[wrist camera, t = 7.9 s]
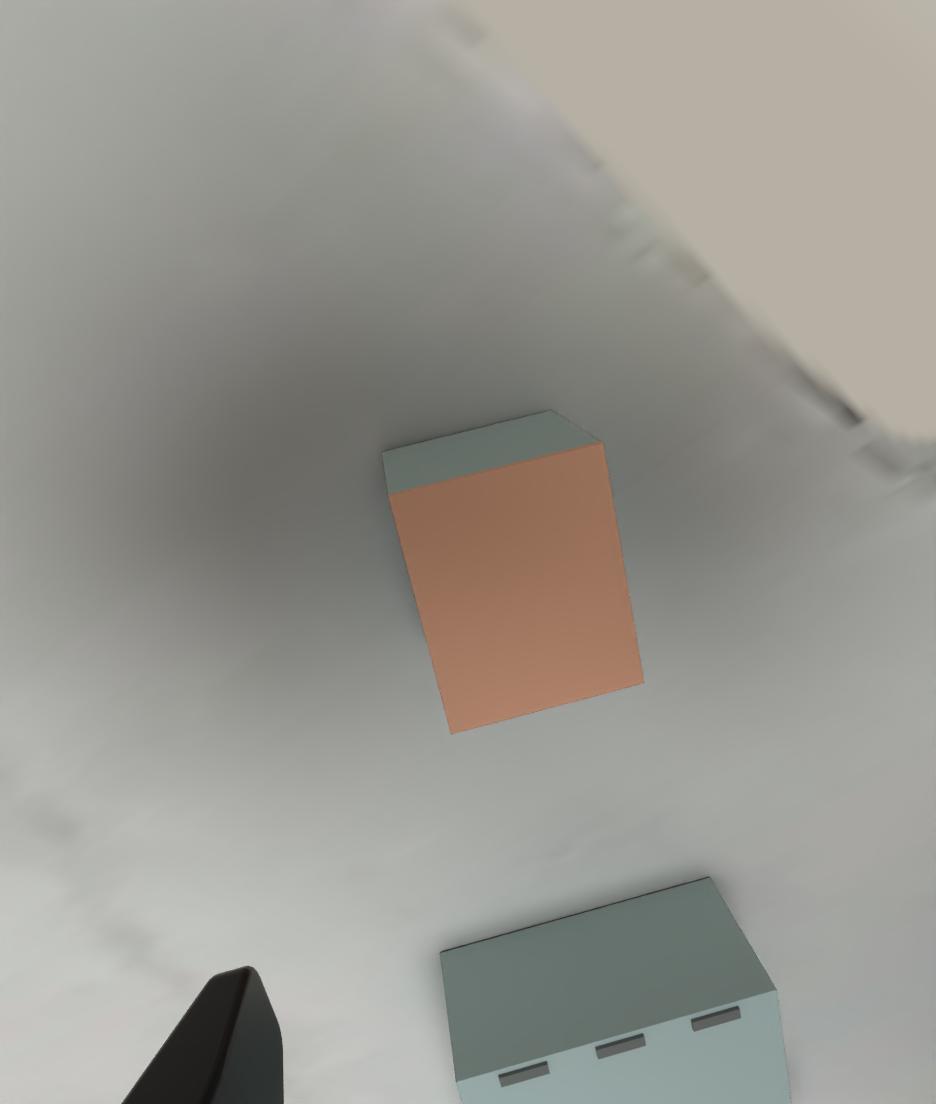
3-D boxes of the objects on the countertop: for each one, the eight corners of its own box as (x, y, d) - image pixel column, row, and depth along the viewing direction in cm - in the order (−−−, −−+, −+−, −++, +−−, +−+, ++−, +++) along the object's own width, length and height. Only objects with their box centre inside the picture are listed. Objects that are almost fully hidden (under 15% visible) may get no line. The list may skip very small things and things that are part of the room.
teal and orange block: (551, 409, 19) (603, 443, 15) (588, 605, 21) (644, 683, 17) (381, 451, 19) (388, 497, 15) (433, 646, 20) (451, 734, 16)
